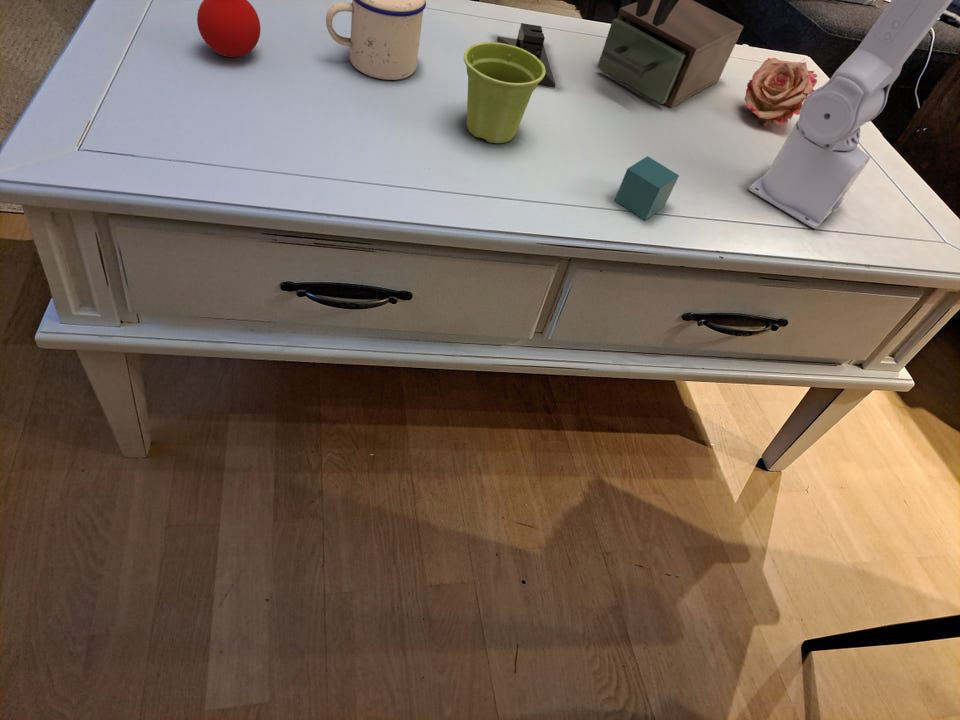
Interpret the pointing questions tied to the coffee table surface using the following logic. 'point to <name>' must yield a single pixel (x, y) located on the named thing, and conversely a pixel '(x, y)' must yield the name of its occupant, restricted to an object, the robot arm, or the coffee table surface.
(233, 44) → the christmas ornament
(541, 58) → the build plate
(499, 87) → the plant pot
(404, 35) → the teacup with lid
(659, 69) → the drawer
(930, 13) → the robot arm
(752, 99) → the flower
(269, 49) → the coffee table surface
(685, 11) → the cabinet
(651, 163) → the block
